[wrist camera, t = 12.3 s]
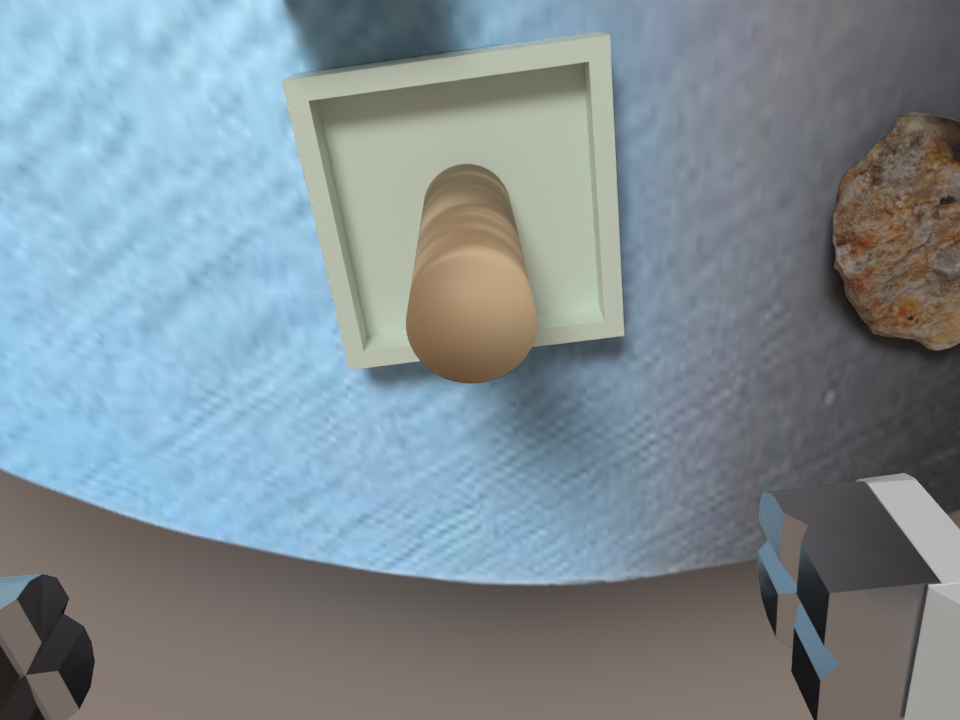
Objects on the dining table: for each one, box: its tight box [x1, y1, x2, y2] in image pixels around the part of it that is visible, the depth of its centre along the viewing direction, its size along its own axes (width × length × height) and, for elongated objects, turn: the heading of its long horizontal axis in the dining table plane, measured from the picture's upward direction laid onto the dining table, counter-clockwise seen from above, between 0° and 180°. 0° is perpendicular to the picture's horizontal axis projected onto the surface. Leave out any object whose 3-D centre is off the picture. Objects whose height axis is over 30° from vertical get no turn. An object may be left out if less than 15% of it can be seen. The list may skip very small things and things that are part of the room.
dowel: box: [406, 164, 538, 383], centre depth 26 cm, size 4×4×12 cm
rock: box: [832, 112, 960, 351], centre depth 31 cm, size 9×6×10 cm
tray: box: [282, 31, 624, 370], centre depth 31 cm, size 12×12×2 cm
